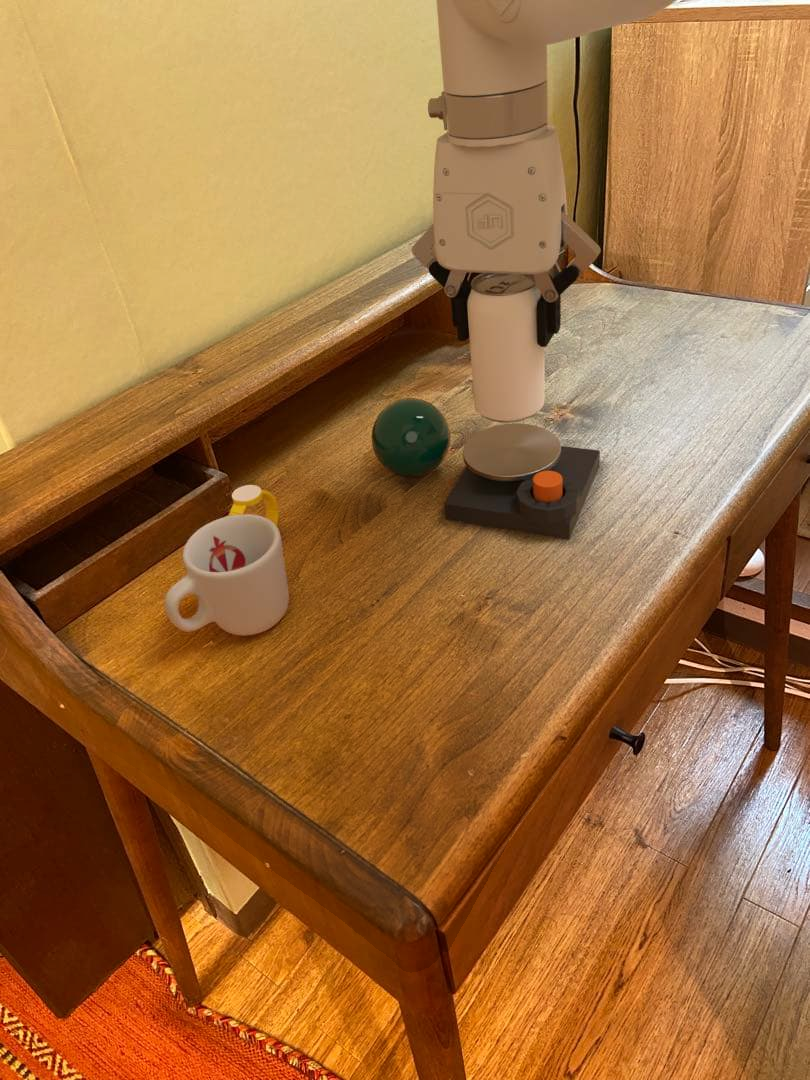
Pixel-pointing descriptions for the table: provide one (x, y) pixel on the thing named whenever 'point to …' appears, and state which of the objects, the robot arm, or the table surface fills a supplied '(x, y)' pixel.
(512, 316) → the can
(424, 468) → the sphere
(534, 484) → the button
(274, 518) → the watch
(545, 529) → the scale
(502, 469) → the brushed metal disc
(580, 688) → the table surface
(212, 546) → the cup
